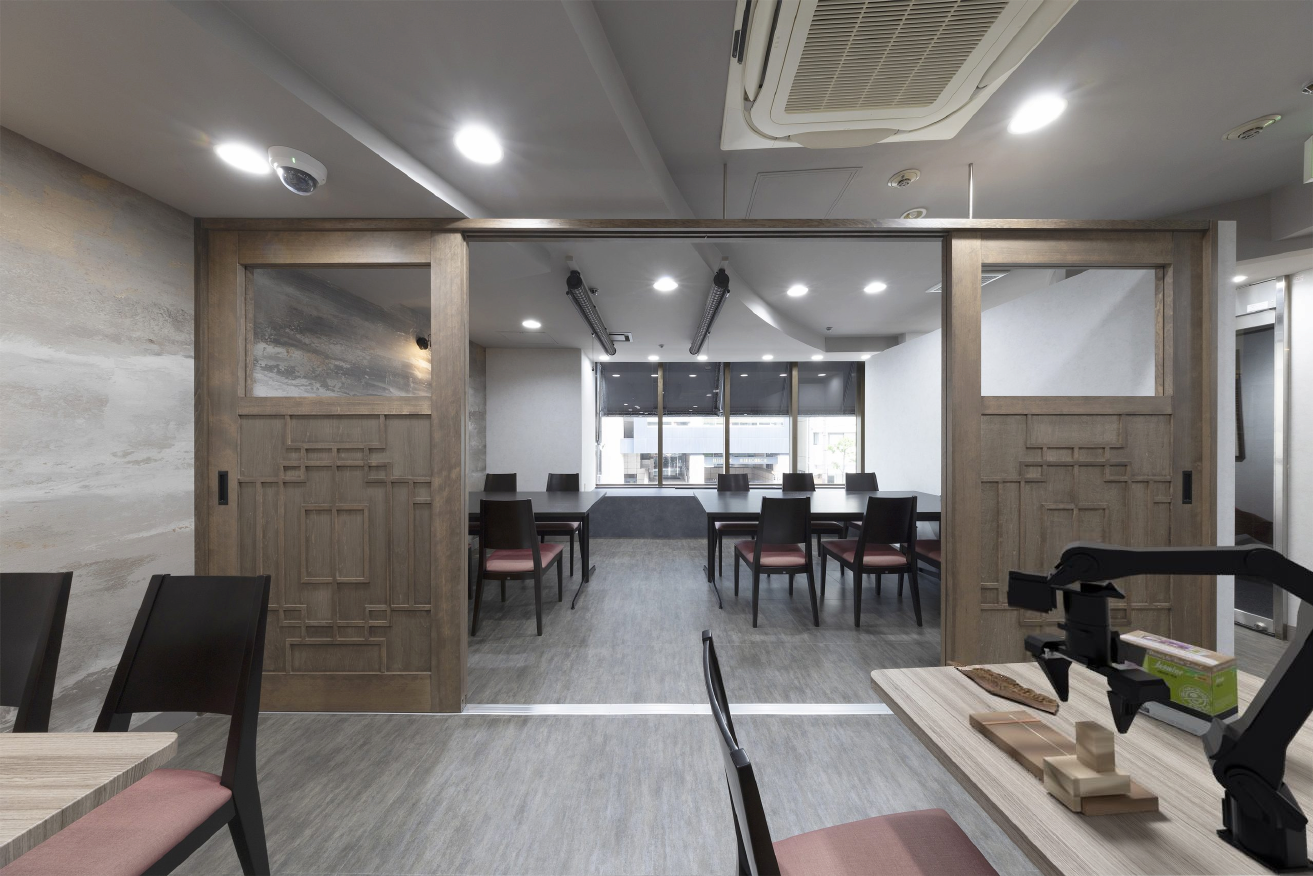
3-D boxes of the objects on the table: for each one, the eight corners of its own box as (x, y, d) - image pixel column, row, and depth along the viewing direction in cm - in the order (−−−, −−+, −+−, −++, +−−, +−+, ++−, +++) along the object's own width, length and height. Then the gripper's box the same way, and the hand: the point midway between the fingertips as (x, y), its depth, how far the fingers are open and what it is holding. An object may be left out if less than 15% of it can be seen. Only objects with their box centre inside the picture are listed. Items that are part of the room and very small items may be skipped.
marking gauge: (1131, 807, 72) (1128, 735, 72) (1073, 811, 71) (1070, 739, 71) (1098, 784, 77) (1095, 717, 77) (1044, 788, 76) (1041, 720, 76)
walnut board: (1159, 810, 72) (1158, 796, 72) (1086, 816, 71) (1086, 802, 71) (1024, 720, 96) (1024, 710, 96) (969, 723, 95) (969, 713, 95)
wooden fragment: (1076, 712, 99) (1075, 707, 99) (1035, 720, 96) (1035, 714, 96) (969, 660, 124) (968, 656, 124) (934, 665, 121) (934, 661, 121)
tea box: (1113, 704, 101) (1110, 635, 102) (1139, 694, 105) (1136, 628, 105) (1215, 744, 87) (1211, 664, 87) (1241, 732, 91) (1237, 655, 91)
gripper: (1201, 639, 68) (1207, 748, 68) (1074, 599, 87) (1079, 684, 86) (1133, 644, 67) (1139, 755, 66) (1019, 603, 86) (1024, 689, 85)
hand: (1091, 716), depth 76 cm, fingers open, 9 cm apart
